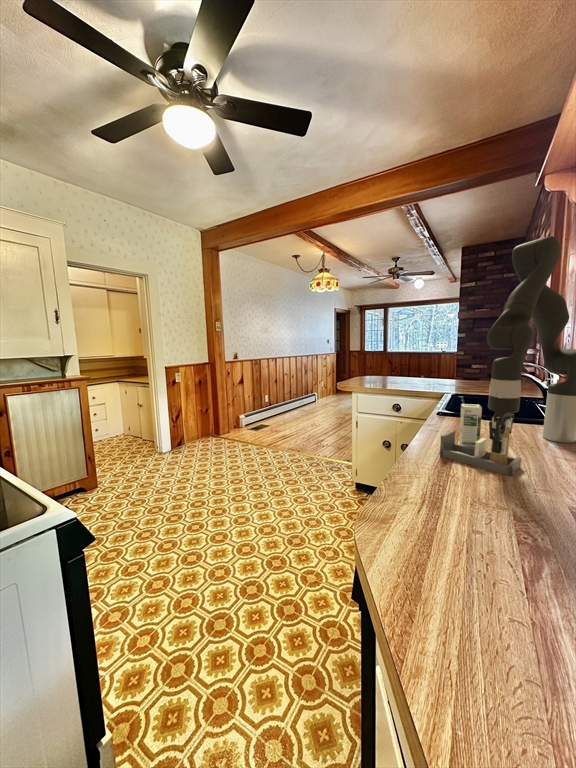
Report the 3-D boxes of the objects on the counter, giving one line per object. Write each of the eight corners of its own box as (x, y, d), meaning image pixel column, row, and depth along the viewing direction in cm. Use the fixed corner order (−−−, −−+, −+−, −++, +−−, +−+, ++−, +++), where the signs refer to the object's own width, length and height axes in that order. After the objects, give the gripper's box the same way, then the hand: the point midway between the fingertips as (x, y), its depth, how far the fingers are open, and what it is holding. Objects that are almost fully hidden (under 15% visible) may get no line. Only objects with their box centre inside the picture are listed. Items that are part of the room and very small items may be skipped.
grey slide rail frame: (451, 449, 109) (452, 430, 108) (520, 467, 93) (522, 445, 92) (439, 455, 103) (440, 435, 102) (511, 476, 88) (513, 452, 87)
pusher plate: (481, 453, 100) (482, 437, 99) (485, 454, 99) (486, 438, 98) (474, 458, 96) (475, 442, 96) (478, 459, 96) (479, 443, 95)
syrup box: (460, 446, 112) (463, 406, 109) (458, 440, 117) (461, 402, 115) (479, 447, 110) (482, 407, 107) (476, 442, 115) (479, 403, 113)
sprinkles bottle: (510, 463, 93) (514, 419, 91) (503, 466, 91) (507, 422, 89) (493, 458, 97) (497, 416, 95) (486, 461, 95) (489, 418, 93)
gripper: (498, 389, 98) (493, 441, 101) (480, 396, 89) (476, 453, 92) (527, 392, 92) (521, 448, 95) (511, 400, 83) (505, 460, 86)
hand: (499, 450), depth 93 cm, fingers closed on sprinkles bottle, 4 cm apart
